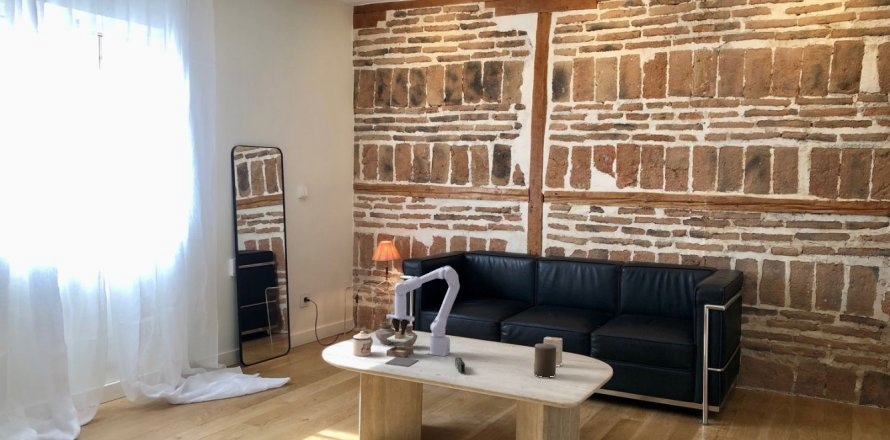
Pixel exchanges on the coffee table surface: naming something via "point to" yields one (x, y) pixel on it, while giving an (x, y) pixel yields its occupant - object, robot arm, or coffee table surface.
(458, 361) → the dark green stone
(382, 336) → the pottery
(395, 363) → the mat
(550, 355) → the pillar candle
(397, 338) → the lid
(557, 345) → the supplement box
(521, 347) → the coffee table surface
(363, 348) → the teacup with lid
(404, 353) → the tea box
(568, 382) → the coffee table surface
